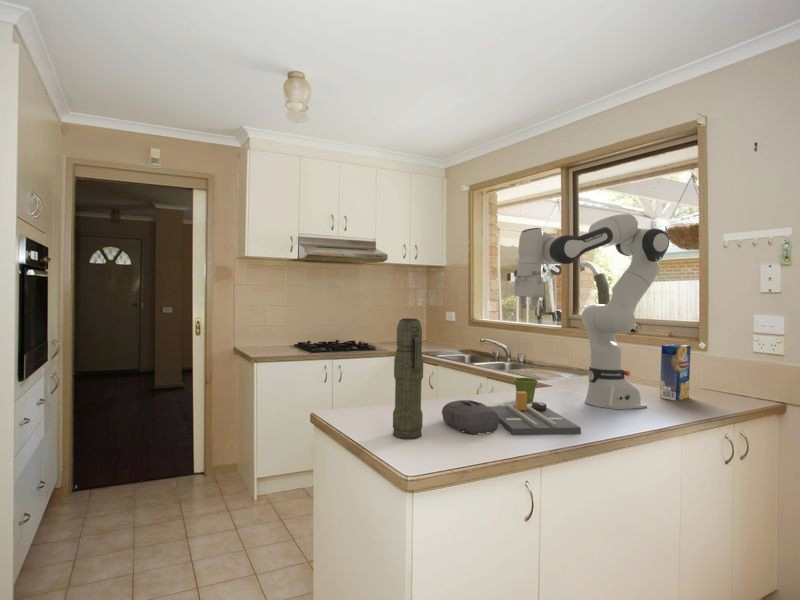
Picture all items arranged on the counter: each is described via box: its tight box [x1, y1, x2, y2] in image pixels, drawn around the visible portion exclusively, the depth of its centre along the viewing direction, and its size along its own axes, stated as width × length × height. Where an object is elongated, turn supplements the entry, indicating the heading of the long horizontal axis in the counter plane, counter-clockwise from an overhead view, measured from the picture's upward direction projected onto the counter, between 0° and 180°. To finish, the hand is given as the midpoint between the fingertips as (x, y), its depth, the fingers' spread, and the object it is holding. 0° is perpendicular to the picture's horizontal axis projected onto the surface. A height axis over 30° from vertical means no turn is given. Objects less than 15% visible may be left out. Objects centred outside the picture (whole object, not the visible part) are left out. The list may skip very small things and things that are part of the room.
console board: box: [486, 401, 582, 436], centre depth 168 cm, size 22×28×4 cm
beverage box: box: [659, 343, 692, 402], centre depth 211 cm, size 7×11×22 cm, turn 127°
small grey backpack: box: [441, 399, 500, 435], centre depth 162 cm, size 15×8×20 cm
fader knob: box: [515, 391, 528, 411], centre depth 176 cm, size 3×3×6 cm
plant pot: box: [513, 377, 539, 404], centre depth 199 cm, size 9×9×9 cm
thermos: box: [392, 318, 424, 440], centre depth 150 cm, size 9×12×35 cm
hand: (528, 309), depth 185 cm, fingers open, 8 cm apart
